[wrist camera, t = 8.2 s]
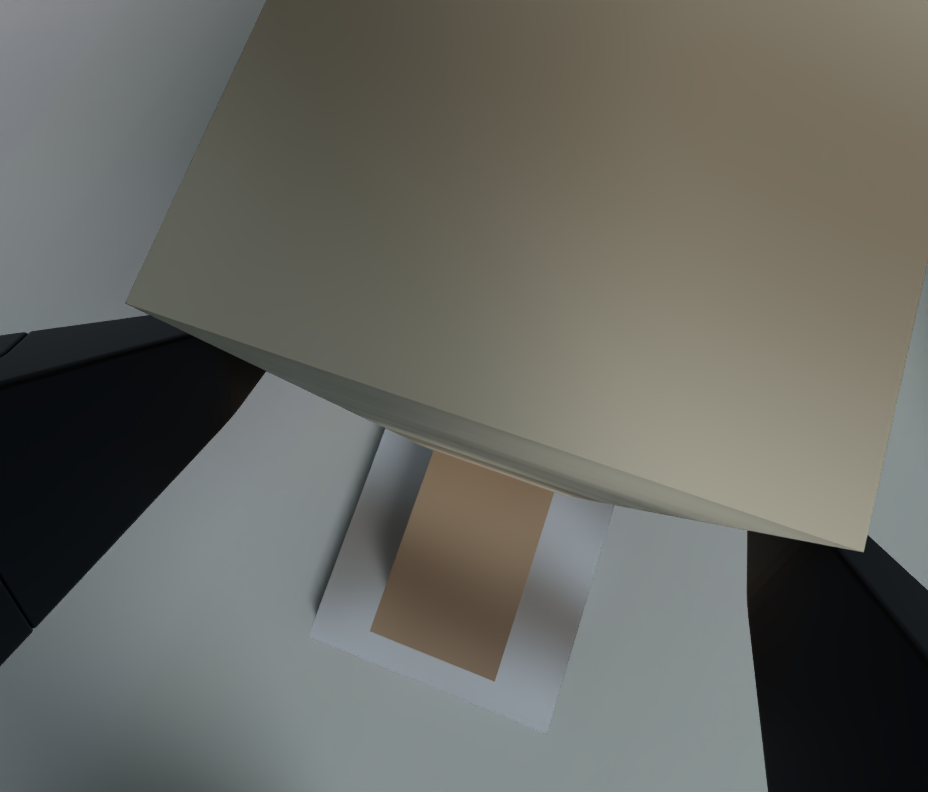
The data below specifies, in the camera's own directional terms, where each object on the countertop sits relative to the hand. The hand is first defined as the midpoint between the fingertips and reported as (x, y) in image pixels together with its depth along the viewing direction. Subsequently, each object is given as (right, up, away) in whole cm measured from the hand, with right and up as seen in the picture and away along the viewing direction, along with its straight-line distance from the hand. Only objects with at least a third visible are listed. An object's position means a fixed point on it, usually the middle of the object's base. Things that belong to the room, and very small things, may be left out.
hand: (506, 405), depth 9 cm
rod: (+1, 0, +7) cm, 7 cm away
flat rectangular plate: (+1, -1, +11) cm, 11 cm away
